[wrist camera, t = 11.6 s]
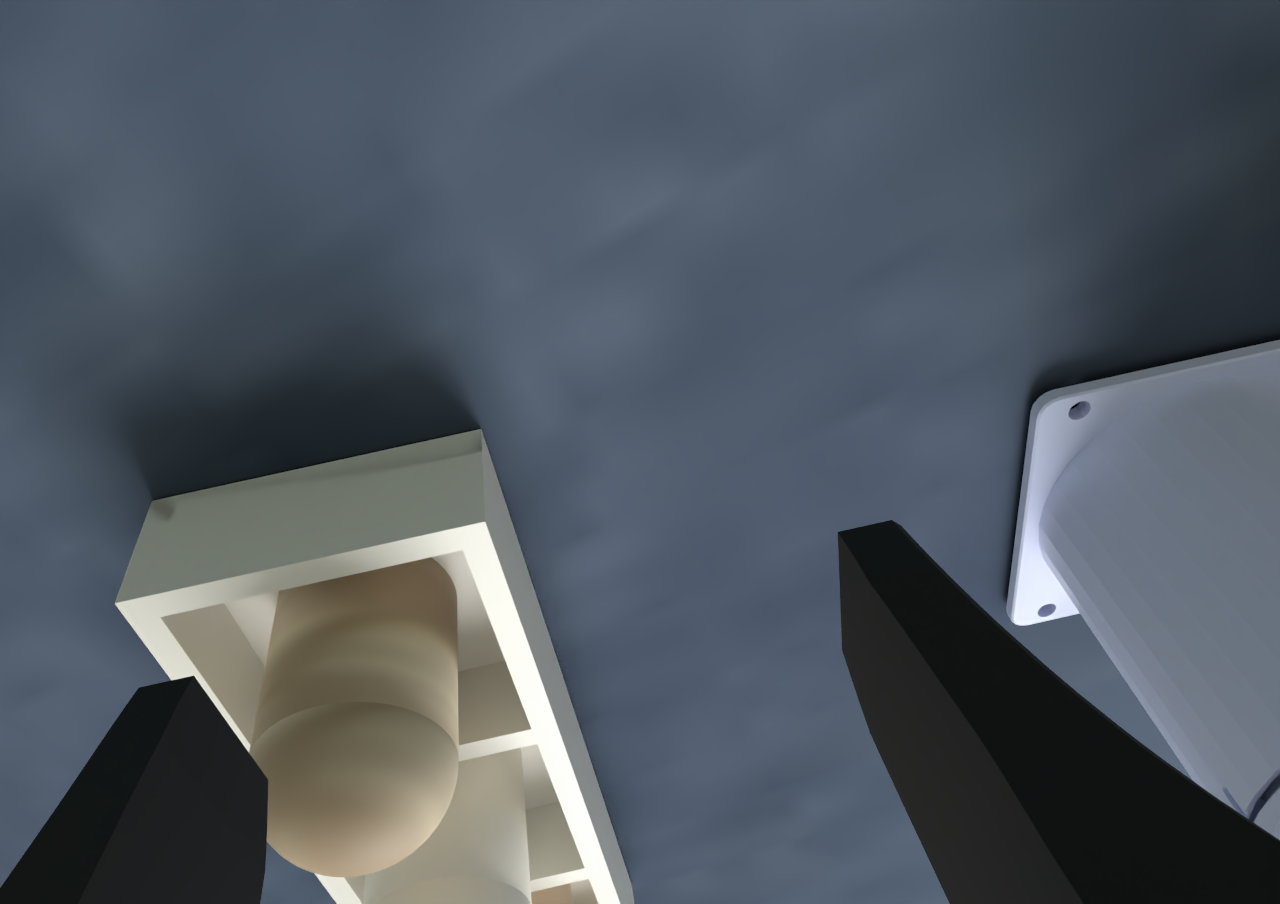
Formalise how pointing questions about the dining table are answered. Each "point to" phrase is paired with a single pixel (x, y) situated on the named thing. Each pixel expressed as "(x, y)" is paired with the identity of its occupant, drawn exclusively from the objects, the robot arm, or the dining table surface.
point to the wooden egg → (360, 717)
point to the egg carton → (487, 655)
